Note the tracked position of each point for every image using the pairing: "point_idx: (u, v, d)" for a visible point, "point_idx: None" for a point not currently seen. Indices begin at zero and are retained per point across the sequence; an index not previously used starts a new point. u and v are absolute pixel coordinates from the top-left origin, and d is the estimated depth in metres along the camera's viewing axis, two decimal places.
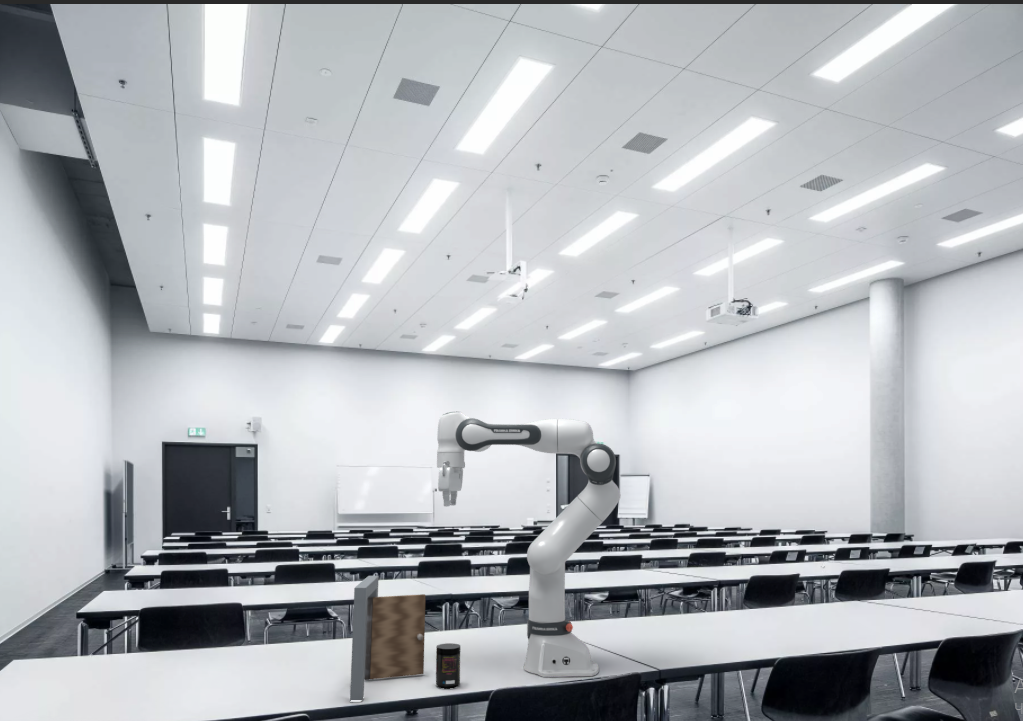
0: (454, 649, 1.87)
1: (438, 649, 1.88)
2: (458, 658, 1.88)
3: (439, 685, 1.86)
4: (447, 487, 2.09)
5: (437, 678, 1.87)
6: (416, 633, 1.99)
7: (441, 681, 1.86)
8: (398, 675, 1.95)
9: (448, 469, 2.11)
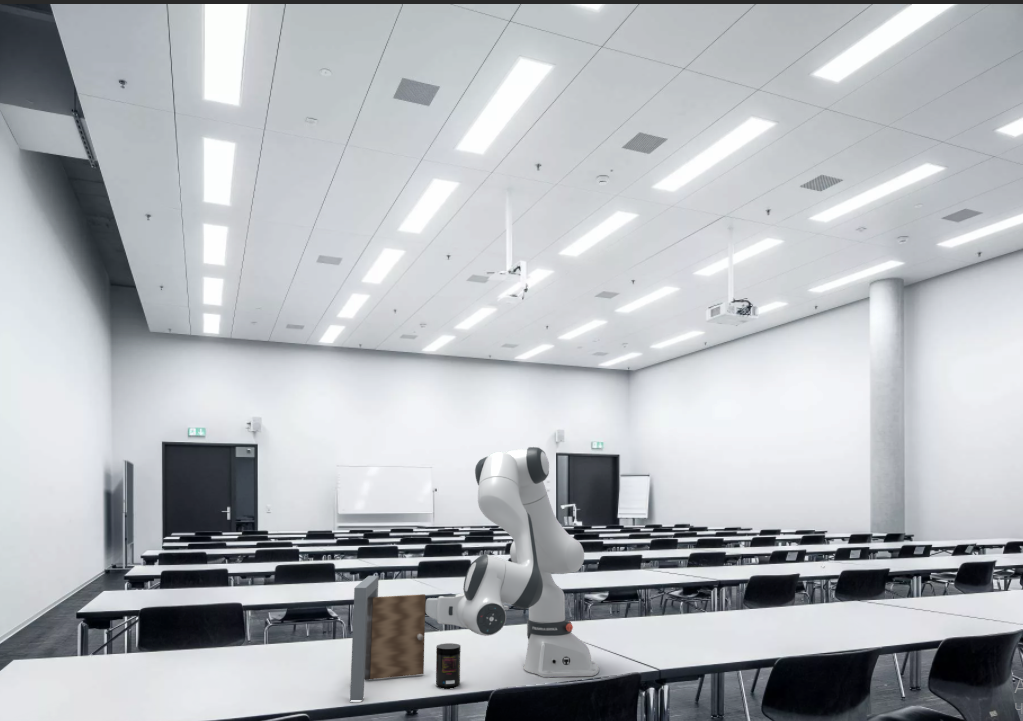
0: (454, 649, 1.87)
1: (438, 649, 1.88)
2: (458, 658, 1.88)
3: (439, 685, 1.86)
4: None
5: (437, 678, 1.87)
6: (416, 633, 1.99)
7: (441, 681, 1.86)
8: (398, 675, 1.95)
9: (503, 602, 1.76)
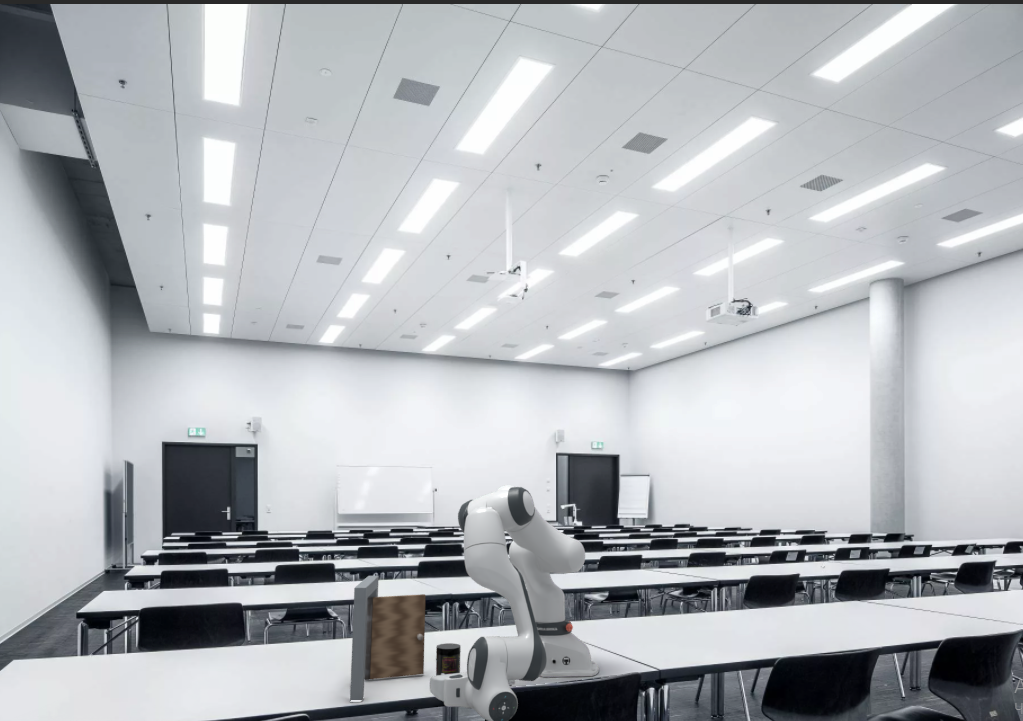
0: (454, 649, 1.87)
1: (438, 649, 1.88)
2: (458, 658, 1.88)
3: None
4: None
5: None
6: (416, 633, 1.99)
7: None
8: (398, 675, 1.95)
9: None
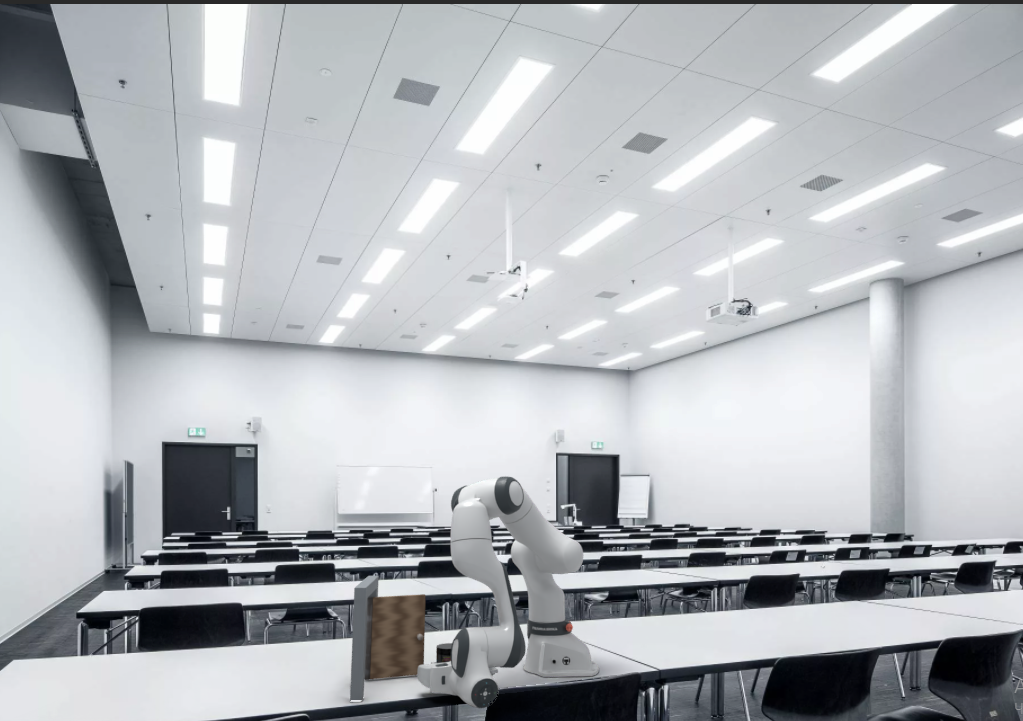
0: None
1: (438, 649, 1.88)
2: None
3: None
4: None
5: None
6: (416, 633, 1.99)
7: None
8: (398, 675, 1.95)
9: None
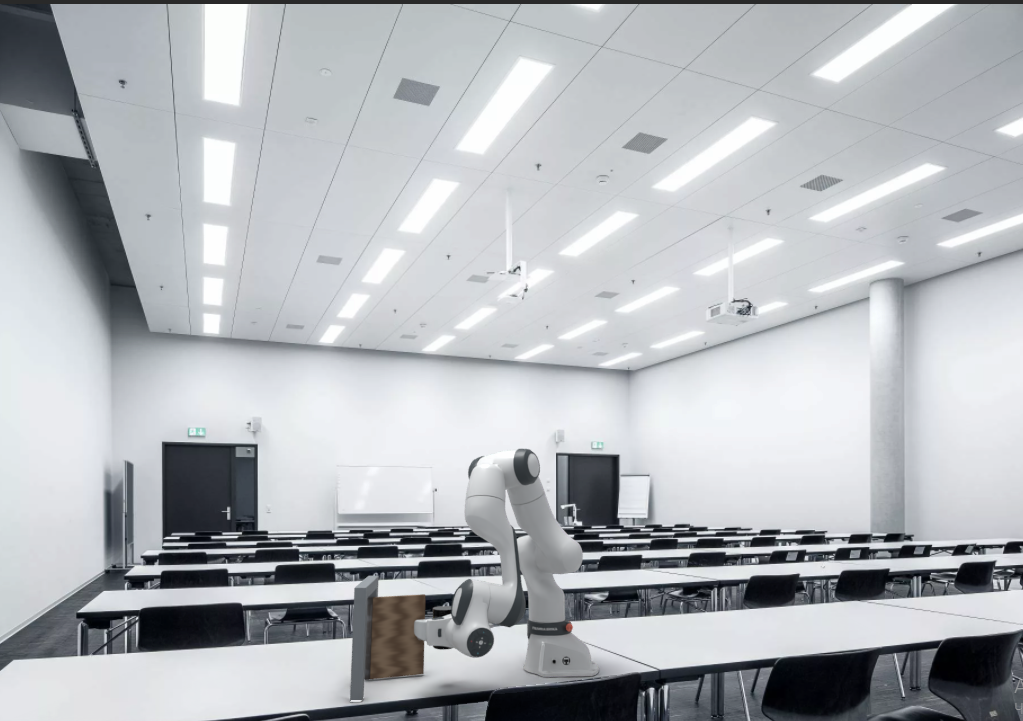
0: (450, 610, 1.89)
1: (434, 610, 1.90)
2: None
3: (435, 646, 1.87)
4: None
5: None
6: None
7: None
8: (398, 675, 1.95)
9: None
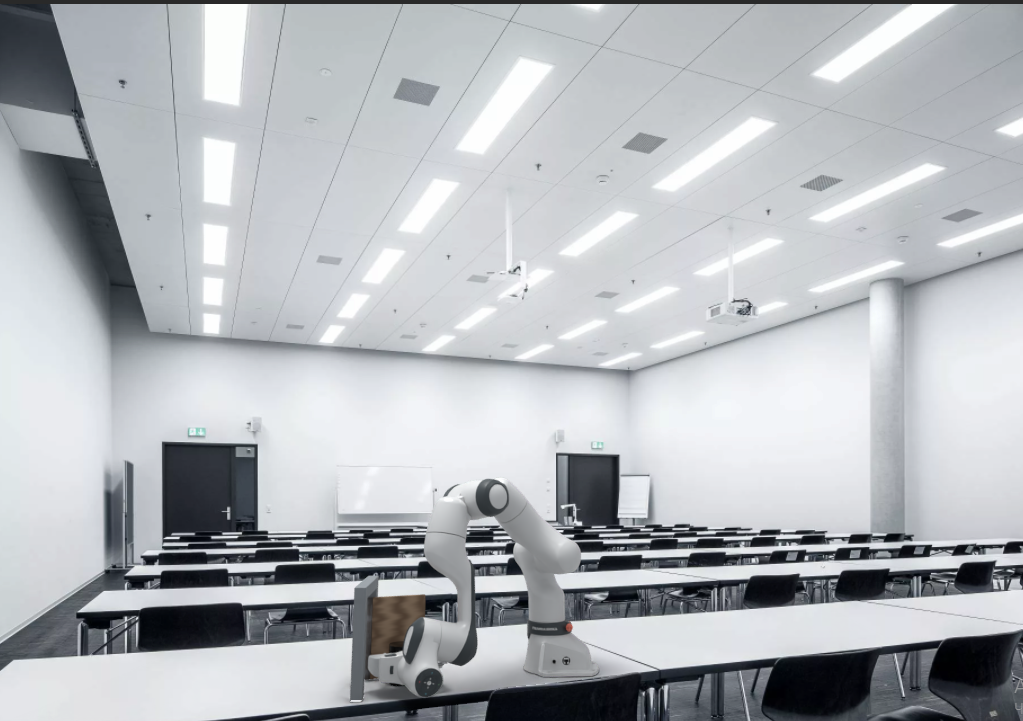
0: None
1: (390, 647, 1.90)
2: None
3: None
4: None
5: None
6: None
7: None
8: None
9: None
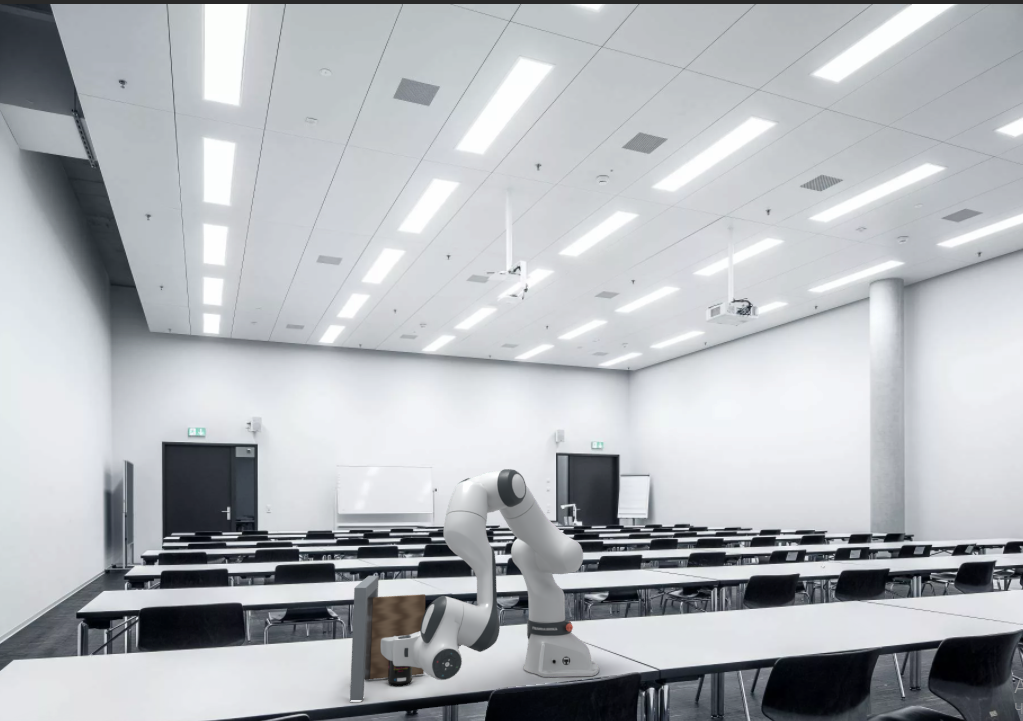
0: None
1: None
2: None
3: (391, 682, 1.88)
4: None
5: (389, 675, 1.89)
6: None
7: (392, 678, 1.88)
8: None
9: None
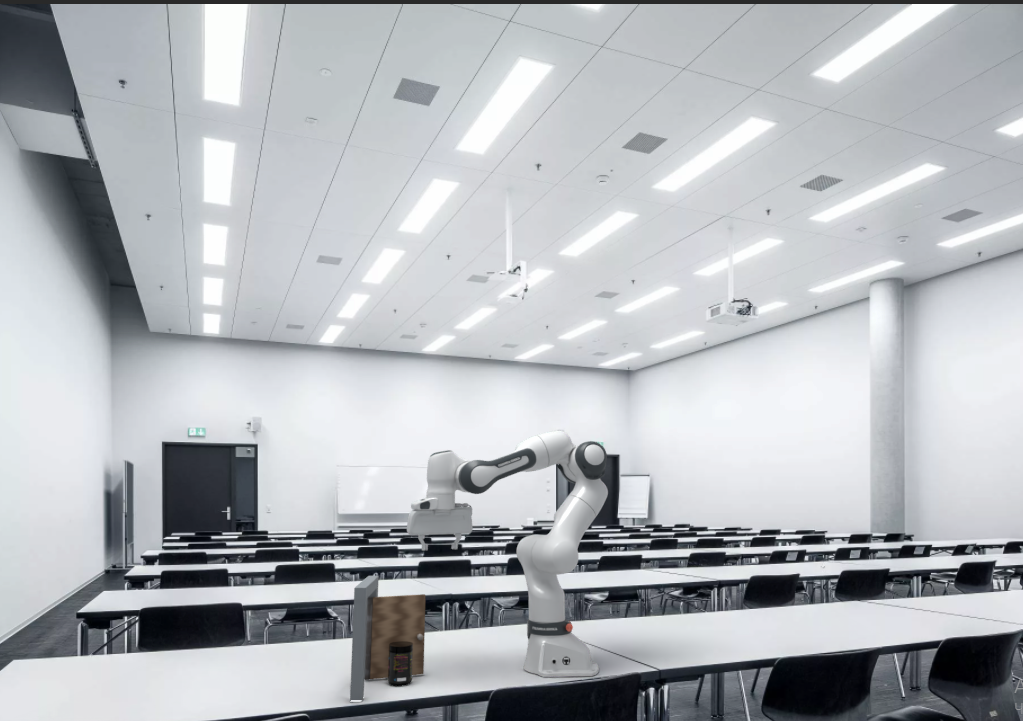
0: (406, 647, 1.90)
1: (390, 647, 1.90)
2: (410, 656, 1.90)
3: (391, 682, 1.88)
4: None
5: (389, 675, 1.89)
6: (416, 633, 1.99)
7: (392, 678, 1.88)
8: None
9: None
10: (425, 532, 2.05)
